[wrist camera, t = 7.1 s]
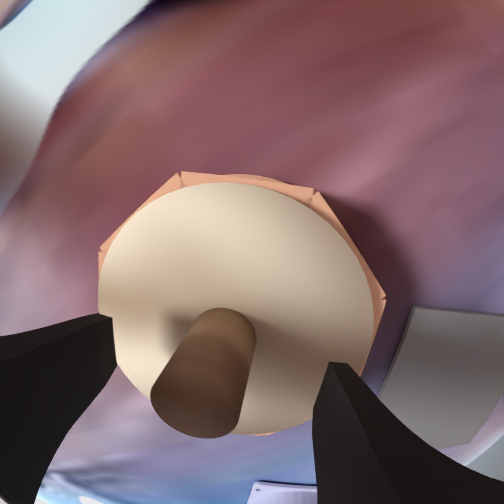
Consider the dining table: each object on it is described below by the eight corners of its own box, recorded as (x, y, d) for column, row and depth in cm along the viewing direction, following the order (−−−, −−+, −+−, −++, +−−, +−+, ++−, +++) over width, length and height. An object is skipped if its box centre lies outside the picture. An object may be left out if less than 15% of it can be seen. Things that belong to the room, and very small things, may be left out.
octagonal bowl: (327, 402, 15) (332, 445, 12) (136, 365, 16) (110, 397, 13) (383, 198, 13) (413, 203, 9) (139, 164, 14) (99, 161, 10)
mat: (468, 440, 15) (469, 442, 15) (347, 452, 16) (347, 455, 16) (535, 317, 12) (538, 319, 12) (412, 304, 13) (415, 307, 13)
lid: (339, 431, 12) (348, 506, 7) (125, 402, 13) (85, 460, 8) (389, 194, 9) (458, 205, 5) (97, 183, 10) (11, 191, 6)
